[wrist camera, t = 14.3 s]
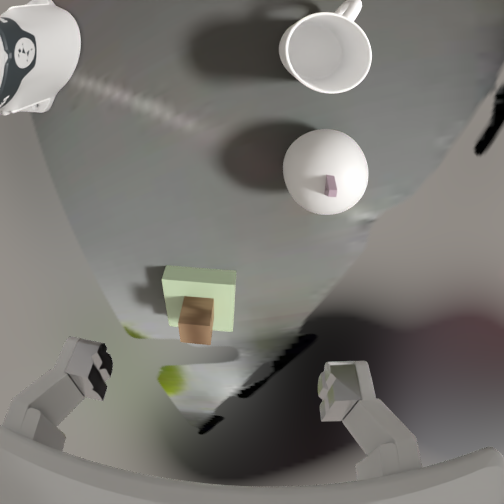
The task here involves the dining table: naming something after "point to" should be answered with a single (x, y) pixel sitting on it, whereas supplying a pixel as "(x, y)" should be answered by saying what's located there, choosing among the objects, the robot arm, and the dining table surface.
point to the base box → (200, 292)
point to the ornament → (325, 171)
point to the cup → (327, 50)
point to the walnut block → (196, 320)
